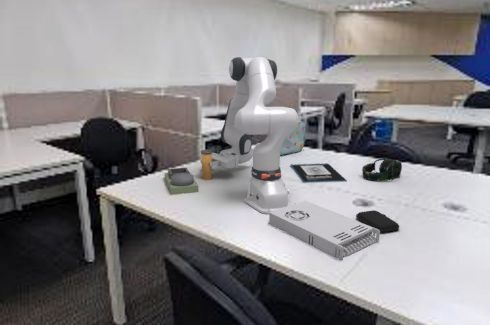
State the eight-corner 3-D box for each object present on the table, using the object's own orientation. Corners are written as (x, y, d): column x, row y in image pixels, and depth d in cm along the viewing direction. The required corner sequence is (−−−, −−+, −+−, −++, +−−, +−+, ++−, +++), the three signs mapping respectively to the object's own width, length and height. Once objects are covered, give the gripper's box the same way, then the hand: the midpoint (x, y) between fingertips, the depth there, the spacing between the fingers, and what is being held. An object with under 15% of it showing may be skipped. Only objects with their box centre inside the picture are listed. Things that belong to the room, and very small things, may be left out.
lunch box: (294, 148, 251) (295, 116, 245) (306, 151, 243) (308, 117, 237) (264, 154, 234) (265, 120, 228) (276, 157, 227) (277, 122, 221)
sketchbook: (303, 184, 181) (303, 180, 181) (289, 167, 210) (289, 163, 210) (346, 182, 183) (347, 178, 183) (327, 165, 212) (327, 162, 212)
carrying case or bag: (404, 231, 132) (377, 215, 145) (405, 223, 131) (378, 207, 144) (378, 235, 129) (353, 218, 142) (379, 227, 128) (354, 211, 141)
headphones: (382, 159, 201) (353, 170, 193) (396, 146, 190) (367, 157, 182) (396, 181, 196) (368, 193, 188) (412, 169, 185) (382, 181, 177)
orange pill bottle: (213, 179, 186) (213, 151, 182) (202, 180, 184) (202, 152, 181) (211, 176, 191) (210, 149, 187) (200, 177, 189) (199, 150, 186)
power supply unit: (341, 262, 112) (342, 247, 111) (268, 225, 138) (269, 212, 136) (378, 244, 124) (380, 230, 122) (305, 212, 149) (305, 200, 147)
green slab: (198, 191, 169) (198, 179, 167) (171, 194, 165) (170, 181, 164) (188, 176, 191) (188, 164, 189) (164, 178, 187) (164, 166, 186)
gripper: (213, 148, 201) (192, 153, 191) (240, 155, 186) (218, 160, 177) (214, 160, 202) (193, 165, 193) (240, 168, 188) (218, 173, 179)
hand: (205, 163), depth 185 cm, fingers closed on orange pill bottle, 5 cm apart
